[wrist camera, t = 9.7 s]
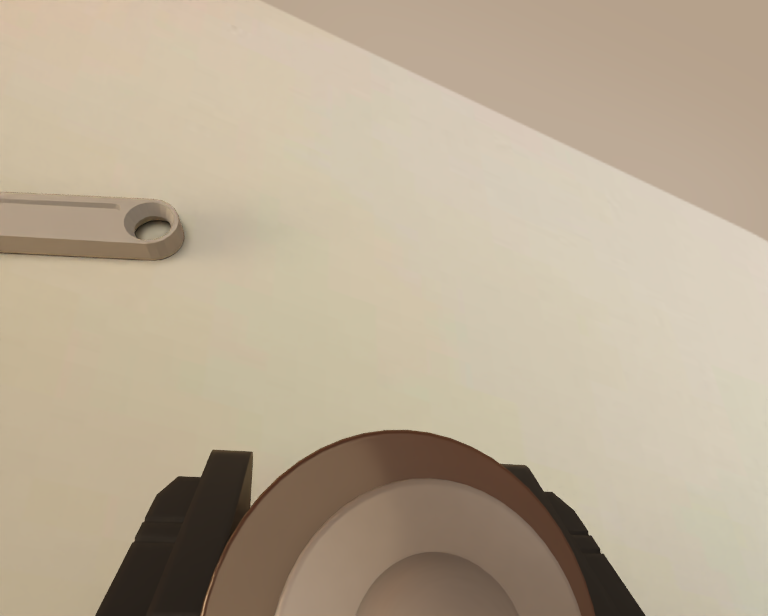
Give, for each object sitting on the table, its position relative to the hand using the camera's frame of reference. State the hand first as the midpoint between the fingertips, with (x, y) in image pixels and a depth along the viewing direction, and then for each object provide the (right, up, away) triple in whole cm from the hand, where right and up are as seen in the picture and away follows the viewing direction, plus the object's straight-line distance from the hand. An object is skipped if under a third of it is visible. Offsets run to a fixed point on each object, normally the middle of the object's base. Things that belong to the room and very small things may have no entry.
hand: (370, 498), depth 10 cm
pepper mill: (-1, -4, +4) cm, 6 cm away
